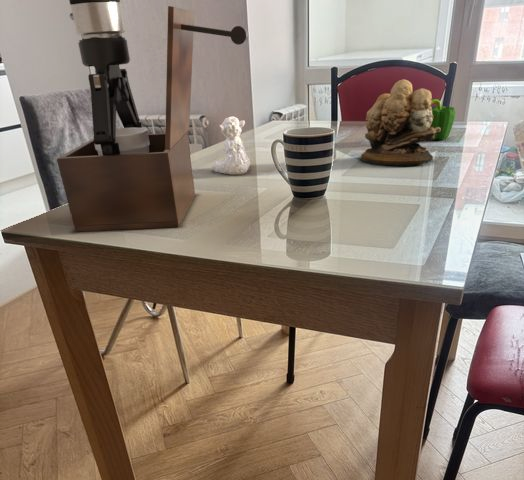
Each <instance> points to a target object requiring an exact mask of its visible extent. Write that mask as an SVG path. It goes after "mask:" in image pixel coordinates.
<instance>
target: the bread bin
mask: <svg viewBox="0 0 524 480" xmlns="http://www.w3.org/2000/svg"><path fill="white" fill-rule="evenodd" d="M188 133H189V132H188V131H187V132H186V133H185V134H184V135H183V137H182V138H181V139H180V140H179V141H178V142H177V143H176V144H175V145H174V146H173V147H172V148H171V149H170V150H166V149H165V132H161V133H148V136H149V143H150V145H149V153H135V154H116V155H98V152H97V150H96V149H95V144H94V140H93V138H91V139H89V140H87V141H85V142H84V143H82V144H80V145H78V146H77V147H75V148H73V149H72V150H69V151H68V152H66V153H65V154H63V155H61V156H59V157H57V158H56V162H57V166H58V171H59V174H60V177H61V178H60V179H61V181H62V186H63V190H64V192H65V197H66V201H67V205H68V209H69V212H70V216H71V220H72V224H73V228H74V232H75V233H76V232H77V233H78V232H98V231H99V232H100V231H101V232H102V231H120V230H123V231H124V230H142V229H167V228H179V227H180V225H181V224H182V221H183V219H184V218H185V216H186V214H187V211H188V210H189V209H190V206H191V204H192V202H193V200H194V198H195V197H196V191H195V181H194V174H193V166H192V158H191V150H190V143H189V134H188Z"/></svg>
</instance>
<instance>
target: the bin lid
mask: <svg viewBox="0 0 524 480" xmlns="http://www.w3.org/2000/svg"><path fill="white" fill-rule="evenodd" d="M194 32H195V33H201V34H208V35H214V36H222V37H227V38H228V37H229V38H230V40H231V42H232V43H233V44H235V45H240V46H241V45H244V44H246V43H247V41H248V39H249V31H248V29H247V28H246V27H245V26H241V25H236V26H234V27H232V29H231V30H228V29H227V30H225V29H220V28H219V29H218V28H212V27H206V26H199V25H195V11H193V10H189V9H184V8H180V7H176V6H173V5H168V6H167V35H166V37H167V39H166V42H167V44H166V80H165V81H166V82H165V84H166V87H165V88H166V89H165V131H164V133H165V149H166V150H170V149H171V148H172V147H173V146H174V145H175V144H176V143H177V142H178V141H179V140H180V139H181V138H182V137H183V135H184V134H185V133H186V132H187V133H188V131H189V130H190V123H191V122H190V120H191V119H190V118H191V97H192V75H193V74H192V73H193V71H192V70H193V54H194V53H193V52H194V51H193V50H194V49H193V48H194Z"/></svg>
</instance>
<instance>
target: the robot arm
mask: <svg viewBox="0 0 524 480" xmlns="http://www.w3.org/2000/svg"><path fill="white" fill-rule="evenodd" d="M68 1H69V5H70V9H71V12H70V14H69V18H70V20H71V21H73V23H74V27H75V32H76V34H77V36H80V37H81V38H80V39H79V40H78V42H77V43H78V48H79V54H80V58H81V63H82V65H83V66H85V67H89V68H90V67H94V73H89V74H88V83H89V89H90V100H91V101H90V102H91V115H92V116H91V117H92V130H93V133H94V144H95V145H100V144H101V149H102V154H103V155H116V154H120V150H119V144H118V143H115V142H116V129H117V115H118V118H119V120H120V122H121V125H122V128H132V127H134V128H143V123H142V121H141V120H140V119H141V118H140V116H139V113H138V109H137V106H136V103H135V99H134V95H133V91H132V89H131V86H130V82H129V76H128V70H127V69H126V68H121V67H120V65H128V64H129V63H130V61H131V59H130V53H129V47H128V40H127V39H126V37H124V36H123V34H124V33H125V32H126V27H125V26H126V25H125V20H124V14H123V10H122V3H121V0H68ZM93 133H92V134H93Z"/></svg>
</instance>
